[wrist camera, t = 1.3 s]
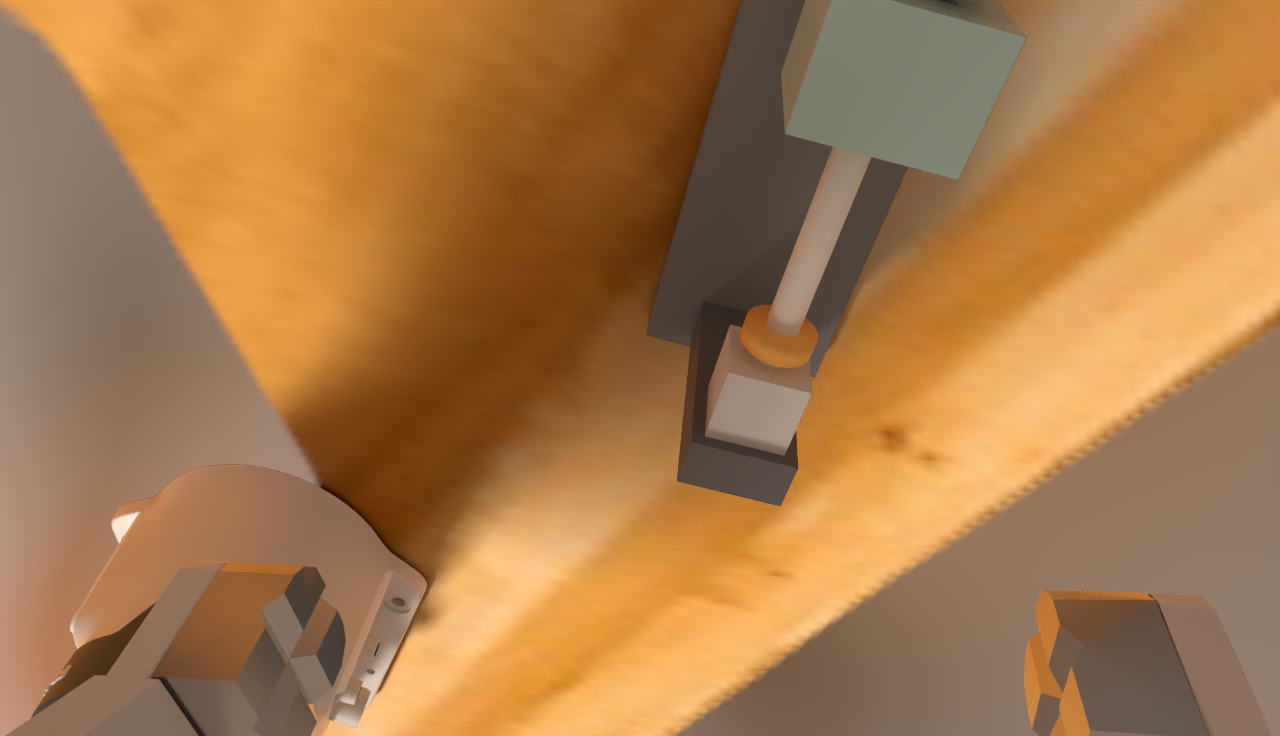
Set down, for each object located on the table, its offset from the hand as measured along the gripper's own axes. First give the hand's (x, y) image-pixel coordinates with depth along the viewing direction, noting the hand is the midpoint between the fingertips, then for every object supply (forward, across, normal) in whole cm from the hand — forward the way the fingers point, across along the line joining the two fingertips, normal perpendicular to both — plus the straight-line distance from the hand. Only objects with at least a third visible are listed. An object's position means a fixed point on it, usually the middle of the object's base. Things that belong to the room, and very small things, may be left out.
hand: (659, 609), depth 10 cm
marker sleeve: (+23, -4, +1) cm, 23 cm away
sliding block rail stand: (+29, -2, +6) cm, 30 cm away
